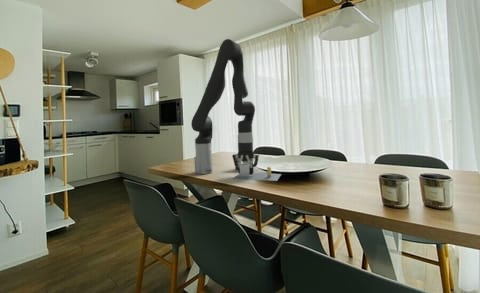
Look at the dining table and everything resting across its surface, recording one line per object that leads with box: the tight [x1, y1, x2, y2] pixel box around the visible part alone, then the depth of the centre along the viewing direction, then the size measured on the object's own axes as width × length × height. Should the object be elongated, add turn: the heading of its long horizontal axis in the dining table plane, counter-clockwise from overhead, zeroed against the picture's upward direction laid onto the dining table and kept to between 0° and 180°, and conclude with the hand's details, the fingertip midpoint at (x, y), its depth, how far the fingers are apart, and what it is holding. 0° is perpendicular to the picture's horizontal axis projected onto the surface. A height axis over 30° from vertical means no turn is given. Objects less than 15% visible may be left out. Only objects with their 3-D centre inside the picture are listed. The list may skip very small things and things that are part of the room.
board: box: [232, 166, 282, 182], centre depth 120 cm, size 22×14×6 cm, turn 72°
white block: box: [240, 163, 251, 177], centre depth 121 cm, size 5×5×6 cm
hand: (246, 174), depth 121 cm, fingers closed on white block, 5 cm apart
